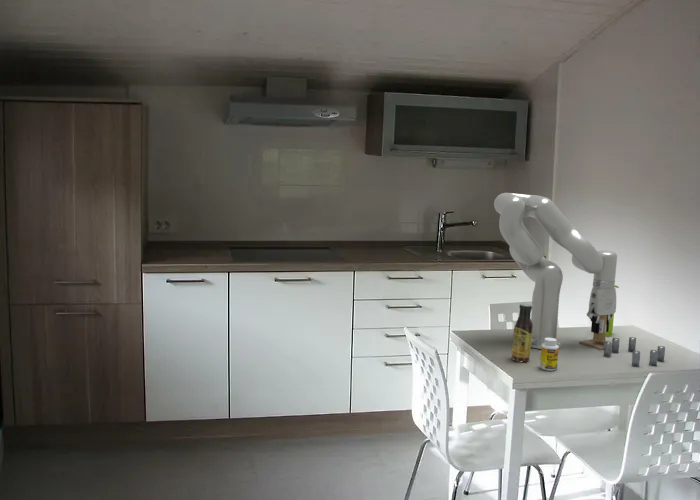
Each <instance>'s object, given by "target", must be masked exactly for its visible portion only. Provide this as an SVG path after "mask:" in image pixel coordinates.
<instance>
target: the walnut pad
mask: <svg viewBox="0 0 700 500" xmlns="http://www.w3.org/2000/svg"><path fill="white" fill-rule="evenodd" d="M606 341H607V342H609V341H608V340H605V341H601V342H600V341H595V340H593V338H592V339H586V340H580V341H579V344H581V345H583V346H584V345H585V346H587V347H590V348H593V349H596V350H598V351H604V343H605V342H606ZM611 349H612V346H611Z"/></svg>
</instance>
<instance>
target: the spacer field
mask: <svg viewBox="0 0 700 500" xmlns="http://www.w3.org/2000/svg"><path fill="white" fill-rule="evenodd" d="M605 341H606V342H605V343H604V350H603V357H606V358H610V357H611V354H612V353H613V354H618V353H619V350H620V338H618V337H612V341H608V340H605ZM607 341H608V342H607ZM636 343H637V338H636V337H633V336H629V338H628V348H627V352H628V353H629V352H630V353H632V355H631V356H632V358H631V366H632V367H634V368H639V367H640V360H641V351H639V350H636V348H637V347H636V345H637V344H636ZM611 346H612V348H611ZM665 353H666V347H665V346H663V345H658V346H657V349H656V350H655V349H650V352H649V359H648V360H649V361H648V364H649V366H651V367H657V365H658V362H661V363H664V361H665V355H666V354H665Z"/></svg>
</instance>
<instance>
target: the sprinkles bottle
mask: <svg viewBox="0 0 700 500" xmlns="http://www.w3.org/2000/svg"><path fill="white" fill-rule="evenodd" d="M596 317H597V316H595V318H596ZM598 323H600V326H599V333H598V334H596V333H593V335H592V336H593V337H592V339H593V340H595V341H600V342H601V341H607V340H606V336H605V335H606V323H607V315H604V316H600V318H599V322H598Z"/></svg>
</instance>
